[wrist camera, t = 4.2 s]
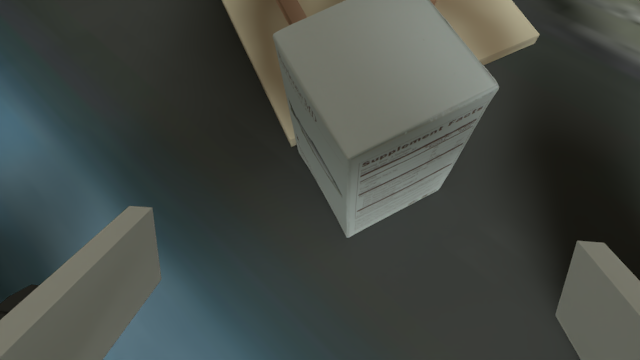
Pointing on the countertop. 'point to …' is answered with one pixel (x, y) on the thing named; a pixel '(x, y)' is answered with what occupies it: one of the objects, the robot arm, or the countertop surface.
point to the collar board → (299, 3)
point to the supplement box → (380, 102)
